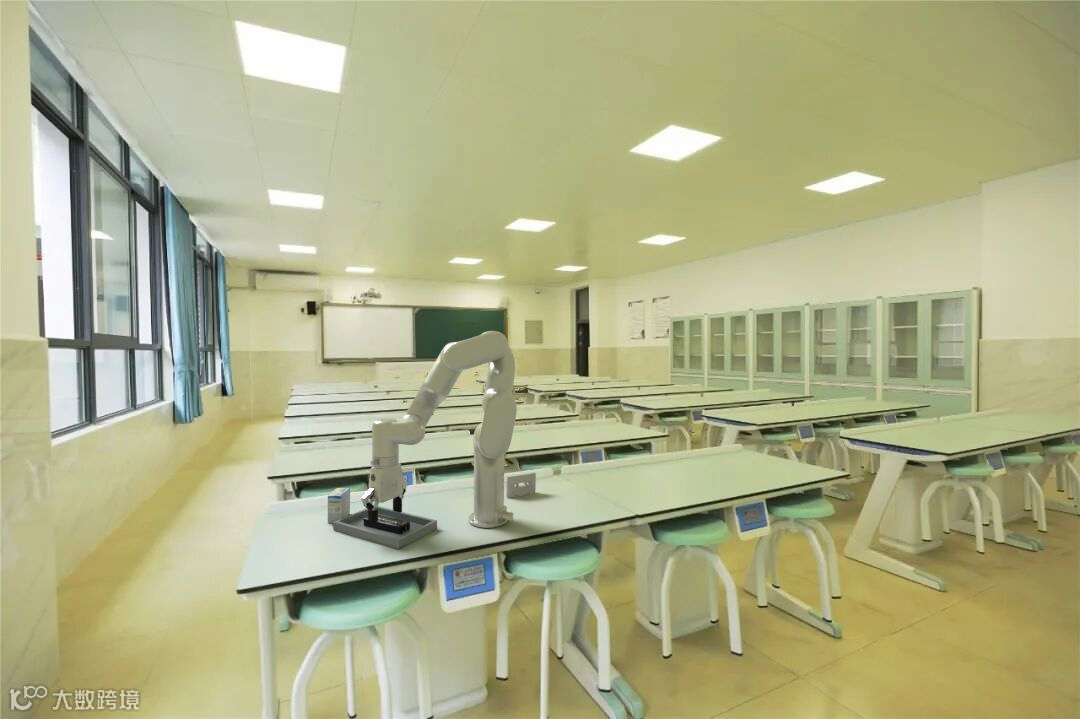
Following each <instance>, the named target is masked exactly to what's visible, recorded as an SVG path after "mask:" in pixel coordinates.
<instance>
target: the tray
mask: <svg viewBox="0 0 1080 719" xmlns="http://www.w3.org/2000/svg"><path fill="white" fill-rule="evenodd" d="M376 510H378V515H382V516H387V517H391V518H396V519H400V520H405V521H409V522H410V530H408V531H406V532H404V533H403V534H396V533H392V532H387V531H383V530H379V529H375V528H371V527H367V526H364V518H365V517H367V516H368V509H366V508H365V509H362V510H359V511H356V512H354V513H352V514H350V515H348V516H347V517H344V518H342V519H339V520H337V521H334V522H333V523H332V525H333V527H332V530H333V531H334V532H335V531H336V532H338V533H341V534H346V535H348V536H352V537H355V538H358V539H362V540H365V541H369V542H371V543H376V544H379V545H382V546H385V547H388V548H392V549H395V550H398V551H399V550H401V549H402V548H404V547H407V546H408V545H410V544H411V543H412V544H413V543H414V542H415V541H417V540H419V539H420V538H421V539H422V537H424V536H426V535H428V534H430V533H432V532H433V531H435V530H437V529H438V520H437V519H433V518H428V517H424V516H420V515H416V514H413V513H412V514H411V513H407V512H404V511H402V512H401V513H399V512H395V511H393V508H388V507H384V506H379V505H378V506H377V508H376Z"/></svg>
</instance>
